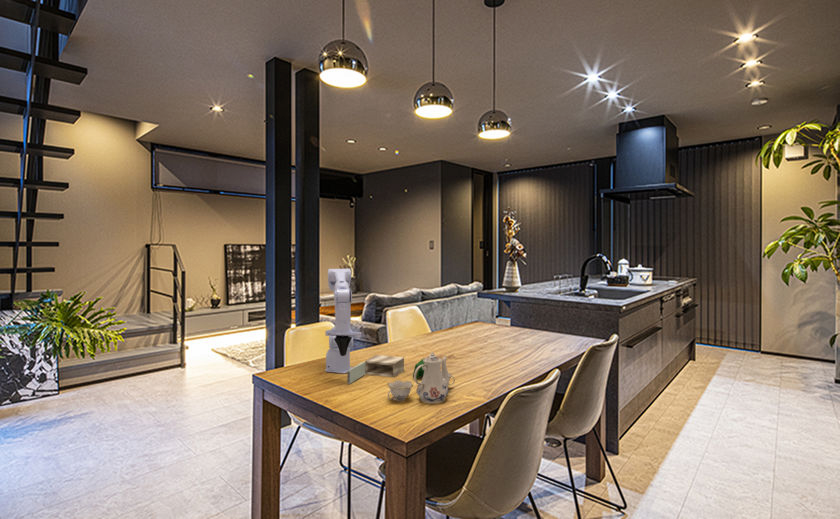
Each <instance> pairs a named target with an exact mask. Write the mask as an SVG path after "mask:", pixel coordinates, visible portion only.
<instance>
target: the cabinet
mask: <svg viewBox="0 0 840 519" xmlns="http://www.w3.org/2000/svg"><path fill="white" fill-rule="evenodd" d="M364 362H365V375H368V376H369V375H371V376H379V377H388V378H396V377H397V376H398V375H400V374H401V373H403V372H404V371H405V357H404V356H393V355H383V354H380V355H379V354H375V355H373V356H371V357H369V358H368V359H366V360H365V361H364Z"/></svg>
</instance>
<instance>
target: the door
mask: <svg viewBox="0 0 840 519" xmlns="http://www.w3.org/2000/svg"><path fill="white" fill-rule="evenodd" d="M352 367H353V368H351V369H350V370H348V372H347V375H346V376H347V384H348V385H350V384H352V383H353V382H356V381H357V380H358V379H360V378H361V377H364V376H365V375H366V374H365V361H362V362H361V363H358V364H357V365H355V366H352Z"/></svg>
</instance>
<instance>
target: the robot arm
mask: <svg viewBox="0 0 840 519" xmlns="http://www.w3.org/2000/svg"><path fill="white" fill-rule="evenodd" d="M351 281H352V272H351V268H328V270H327V282H328V283H327V284H328V285H327V286H328V289H329V290H330V291H332V293H333V301H334V316H335V317H334V318H335V319H334V320H335V321H334V322H335V325H334V326H333V327H332V328H331V329H327V330H325V337H326V336H327V337H328V347H329V349H328V350H327V351H326V355H325V372H327V373H335V374H336V373H338V374H346V373H347V372H348V370H350V369H351V368H353V367H354V366H351V356H350V355H351V349H352V348H353V346H354V338H356V339H361V338H362V332H361V331H354V330H352V328H351V327H352V326H351V325H352V324H351V321H352V320H351V318H352V317H351V310H352V309H351V304H352V302H353V301H352V300H353V292H352V289H351V288H350V287H351Z"/></svg>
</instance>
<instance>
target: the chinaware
mask: <svg viewBox="0 0 840 519" xmlns="http://www.w3.org/2000/svg"><path fill="white" fill-rule="evenodd" d="M424 358H425V359H423V358H422V359H423V361H424V364H423V365H420V366H418V367H417V369H416V370H415V373H414V372H413V373H414V378H413V380H414V382H415V383H416V385H417V388H416V389H415V390H416V391H415V392H416V394H417V396H418V397H419V400H420V401H421V402H422V403H423V404H429V405H436V404H442V403H444V402H445V401H446V399H445V398H446V397H447V396H448V395H449V393H450V392H449V386H452V385H454V384H455V380H456V379H455V377H454V376H453V375H452V373H449V371H448V368H447V364H446V361H447V358H448V357H447V356H443V358H442V359H441V358H440V357H439V358H438V356H437V355H435V353H434V352H433V351H431V352H430V354H429V355H428V356H427V357H424ZM423 366H424V367H423ZM421 367H422V369H423V370H424V375H423V377H422V378H421V381H420V382H418V379H416V375H417V372H418V370H419V369H420V368H421ZM451 378H453V382H452V383H450V379H451ZM387 386H388V388H389V391H388V393H387V398H388V399H389V400H393V401H397V402H404V401H405V400H406V398H407V397H408V396H409V395H410V393H411V390H412V388H413V387H414V384H413V383H412V381H410V380H406V381H402V380H399V379H397V380H394V381H393V382H388V383H387ZM390 394H391V395H392V396H393V397H391V398H390Z"/></svg>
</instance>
